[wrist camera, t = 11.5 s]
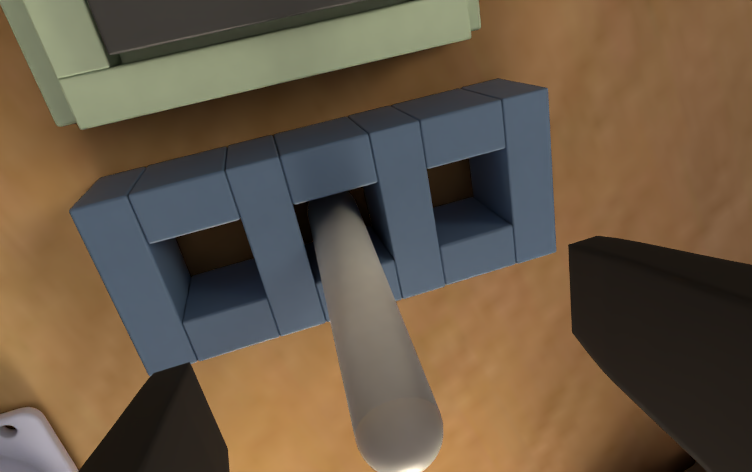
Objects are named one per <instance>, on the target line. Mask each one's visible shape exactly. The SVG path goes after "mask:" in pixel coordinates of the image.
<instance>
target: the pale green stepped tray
mask: <svg viewBox="0 0 752 472" xmlns="http://www.w3.org/2000/svg"><path fill="white" fill-rule="evenodd" d="M0 5H1V7H2V9H3V11H4V14H5V16H6V18H7V20H8V22H9V24H10V26H11V29H12V31H13V33H14V35H15V37H16V39H17V42H18V44H19V46H20V48H21V50H22V52H23V55H24V57H25V59H26V61H27V63H28V65H29V68H30V70H31V72H32V74H33V76H34V78H35V80H36V83H37V85H38V87H39V89H40V91H41V93H42V96H43V98H44V100H45V102H46V104H47V106H48V109H49V111H50V113H51V115H52V117H53V119H54V122H55V124H56V125H57V126H60V127H62V126H66V125H70V124H75V123H77V124H78V127H79V128H80V129H81V130H84V129H88V128H93V127H97V126H101V125H105V124H110V123H114V122H118V121H122V120H127V119H131V118H135V117H139V116H144V115H148V114H152V113H157V112H161V111H165V110H169V109H174V108H178V107H182V106H186V105H191V104H195V103H199V102H203V101H208V100H212V99H216V98H220V97H225V96H229V95H233V94H237V93H242V92H246V91H250V90H255V89H259V88H263V87H267V86H272V85H276V84H280V83H284V82H289V81H293V80H297V79H301V78H306V77H310V76H314V75H318V74H323V73H327V72H331V71H336V70H340V69H344V68H348V67H353V66H357V65H361V64H365V63H370V62H374V61H378V60H382V59H387V58H391V57H395V56H399V55H404V54H408V53H412V52H417V51H421V50H425V49H429V48H434V47H438V46H442V45H446V44H451V43H455V42H459V41H463V40H468V39H470V38H471V31H475V30H479V29H480V28H481V20H480V10H479V0H365V1H361V2H356V3H351V4H347V5H342V6H337V7H333V8H328V9H324V10H319V11H314V12H310V13H305V14H300V15H296V16H291V17H286V18H282V19H277V20H273V21H268V22H263V23H259V24H254V25H249V26H245V27H240V28H236V29H231V30H226V31H222V32H217V33H212V34H208V35H203V36H199V37H194V38H189V39H185V40H180V41H175V42H171V43H166V44H162V45H157V46H152V47H148V48H143V49H138V50H134V51H129V52H124V53H120V54H115V55H109V54H108V52H107V50H106V47H105V45H104V42H103V40H102V37H101V35H100V32H99V30H98V27H97V25H96V22H95V20H94V17H93V14H92V12H91V9H90V7H89V4H88V2H87V0H0Z"/></svg>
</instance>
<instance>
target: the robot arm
mask: <svg viewBox="0 0 752 472" xmlns="http://www.w3.org/2000/svg"><path fill="white" fill-rule="evenodd" d="M568 247H569V271H570V295H571V318H572V333H573V334H574V335H575V337H576V338H577V339H578V341H579V342H580V343H581V345H582V346H583V347H584V348H585V350H586V351H587V352H588V354H589V355H590V356H591V357H592V359H593V360H594V361H595V362H596V363H597V365H598V366H599V367H600V368H601V369H602V371H603V372H604V373H605V374H606V375H607V376H608V377H609V378H610V379H611V380H612V381H613V382H614V383H615V384H616V385H617V386H618V387H619V388H620V389H621V390H622V391H623V392H624V393H625V394H626V395H627V396H628V397H629V398H631V399H632V400H633V401H634V402H635V403H636V404H637V405H638V406H639V407H640V408H641V409H642V410H643V411H644V412H645V413H646V414H647V415H648V416H649V417H650V418H651V419H653V420H654V421H655V422H656V423H657V424H658V425H659V426H660V427H661V428H662V429H663V430H664V431H665V432H666V433H667V434H668V435H669V436H670V437H671V438H673V439H674V440H675V441H676V442H677V443H678V444H679V445H680V446H681V447H682V448H683V449H684V450H685V451H686V452H687V453H688V454H689V455H690V456H691V457H692V458H694V459H695V460H696V461H697V462H698V463H699V464H700V465H701V466H702V467H703V468H704V469H705V470H706V471H707V472H752V265H750V264H745V263H739V262H734V261H729V260H724V259H719V258H714V257H709V256H704V255H699V254H694V253H689V252H685V251H680V250H675V249H670V248H665V247H660V246H656V245H651V244H646V243H641V242H635V241H630V240H624V239H618V238H611V237H602V236H595V237H592V238H589V239H585V240H582V241H579V242H576V243H573V244H569V245H568ZM4 425H11V426H14V427H15V428H16V429H8V428H6V427H5V426H4ZM0 472H229V459H228V448H227V446H226V444H225V441H224V439H223V437H222V435H221V432H220V430H219V428H218V425H217V423H216V421H215V419H214V416H213V414H212V412H211V410H210V407H209V405H208V403H207V400H206V398H205V396H204V394H203V391H202V389H201V387H200V384H199V382H198V380H197V378H196V375H195V373H194V371H193V368H192V366H191V364H190V362H188V363H185V364H181V365H178V366H175V367H172V368H168V369H165V370H162V371H159V372H155V373H153V374H152V376H151V377H150V378H149V379H148V380H147V381H146V383H145V384H144V385H143V387H142V388H141V389H140V390H139V392H138V393H137V394H136V396H135V397H134V398H133V400H132V401H131V402H130V404H129V405H128V407H127V408H126V409H125V411H124V412H123V413H122V415H121V416H120V417H119V419H118V420H117V421H116V423H115V424H114V425H113V427H112V428H111V429H110V431H109V432H108V433H107V435H106V436H105V437H104V439H103V440H102V441H101V443H100V444H99V445H98V447H97V448H96V449H95V450H94V452H93V453H92V454H91V456H90V457H89V458H88V460H87V461H86V462H85V464H84V465H83V466H82V468H81V469H80V470H78V469H77V467H76V465H75V464H74V462H73V461H72V459H71V457H70V456H69V454H68V453H67V451H66V449H65V448H64V446H63V445H62V443H61V441H60V440H59V438H58V437H57V435H56V433H55V432H54V430H53V429H52V427H51V425H50V424H49V422H48V421H47V419H46V417H45V416H44V414H43V413H42V412H41V411H40V410H38V409H36V408H32V407H23V408H19V409H15V410H12V411H9V412H6V413H2V414H0Z"/></svg>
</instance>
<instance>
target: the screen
mask: <svg viewBox="0 0 752 472" xmlns="http://www.w3.org/2000/svg"><path fill="white" fill-rule="evenodd" d="M361 1H365V0H87V2H88V4H89V7H90V9H91V12H92V14H93V17H94V20H95V22H96V25H97V27H98V30H99V32H100V35H101V37H102V40H103V42H104V45H105V47H106V50H107V52H108V54H109V55H115V54H120V53H124V52H129V51H134V50H138V49H143V48H148V47H152V46H157V45H162V44H166V43H171V42H175V41H180V40H185V39H189V38H194V37H199V36H203V35H208V34H212V33H217V32H222V31H226V30H231V29H236V28H240V27H245V26H249V25H254V24H259V23H263V22H268V21H273V20H277V19H282V18H286V17H291V16H296V15H300V14H305V13H310V12H314V11H319V10H324V9H328V8H333V7H337V6H342V5H347V4H351V3H356V2H361Z"/></svg>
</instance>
